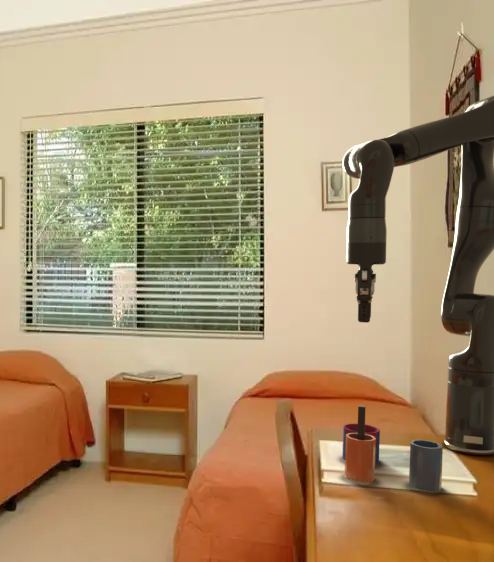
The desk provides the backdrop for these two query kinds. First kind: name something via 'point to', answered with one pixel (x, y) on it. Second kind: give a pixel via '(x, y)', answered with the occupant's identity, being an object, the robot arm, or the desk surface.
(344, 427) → the mug
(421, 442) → the holder
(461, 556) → the desk surface
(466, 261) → the robot arm
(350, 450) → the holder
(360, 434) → the chopstick
